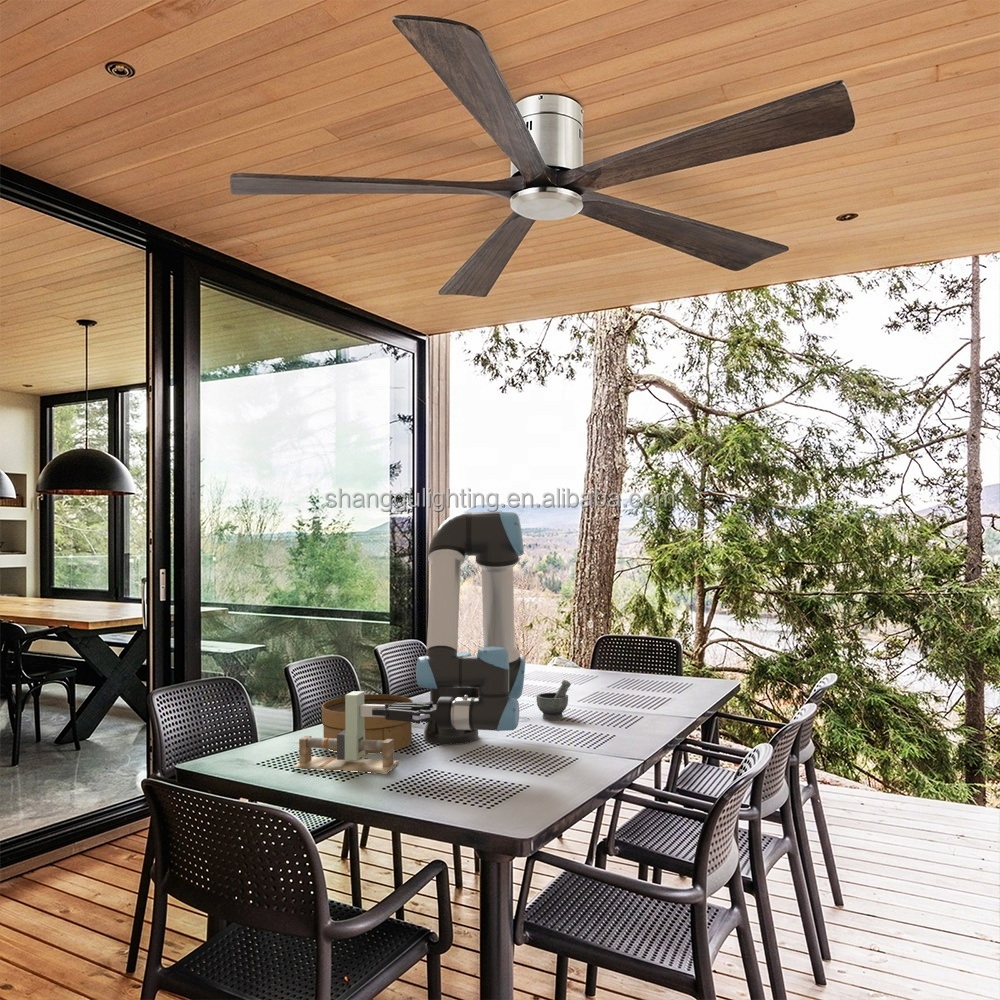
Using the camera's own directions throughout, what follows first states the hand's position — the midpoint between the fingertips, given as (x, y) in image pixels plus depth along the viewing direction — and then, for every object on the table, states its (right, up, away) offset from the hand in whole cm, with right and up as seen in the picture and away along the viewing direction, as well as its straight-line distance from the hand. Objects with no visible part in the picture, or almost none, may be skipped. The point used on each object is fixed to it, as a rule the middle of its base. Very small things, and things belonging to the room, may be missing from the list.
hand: (361, 710), depth 196 cm
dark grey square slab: (-4, -12, +1) cm, 12 cm away
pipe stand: (-4, -14, 0) cm, 14 cm away
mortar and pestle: (+51, -16, +50) cm, 73 cm away
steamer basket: (-2, -15, +24) cm, 28 cm away
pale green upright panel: (-2, -11, 0) cm, 12 cm away
